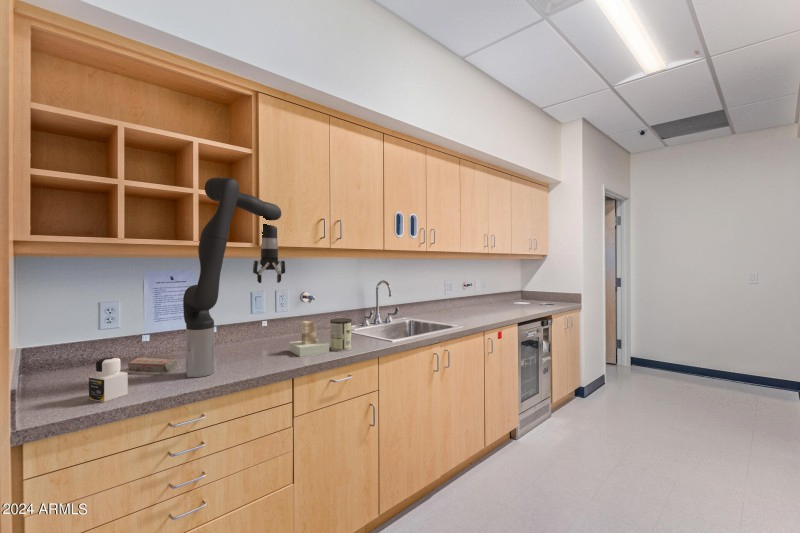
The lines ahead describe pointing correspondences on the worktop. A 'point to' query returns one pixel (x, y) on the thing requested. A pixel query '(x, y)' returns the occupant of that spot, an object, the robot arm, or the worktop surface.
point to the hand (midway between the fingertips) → (269, 282)
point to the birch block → (308, 332)
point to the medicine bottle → (108, 380)
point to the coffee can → (340, 334)
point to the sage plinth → (308, 348)
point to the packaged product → (152, 366)
